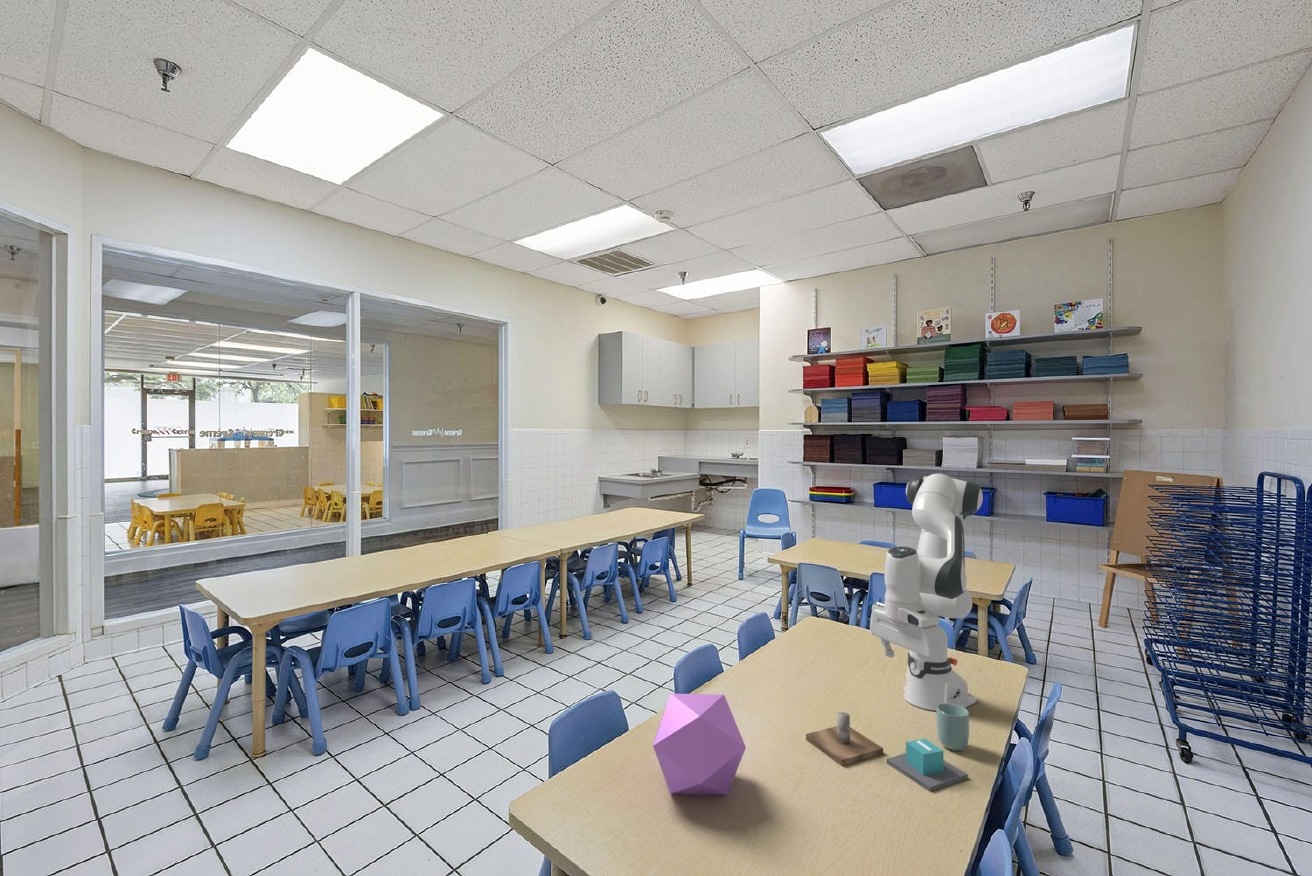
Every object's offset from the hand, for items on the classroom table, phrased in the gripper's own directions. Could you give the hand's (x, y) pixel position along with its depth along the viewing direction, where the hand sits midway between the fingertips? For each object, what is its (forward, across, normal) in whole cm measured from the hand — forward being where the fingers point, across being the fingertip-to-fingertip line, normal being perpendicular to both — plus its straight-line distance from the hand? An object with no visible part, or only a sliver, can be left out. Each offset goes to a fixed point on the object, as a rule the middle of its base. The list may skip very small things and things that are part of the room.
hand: (903, 662), depth 146 cm
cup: (+25, +3, +15) cm, 29 cm away
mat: (+24, +7, -1) cm, 25 cm away
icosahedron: (+23, -11, -56) cm, 62 cm away
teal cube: (+23, +7, -2) cm, 24 cm away
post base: (+24, -10, -12) cm, 28 cm away
